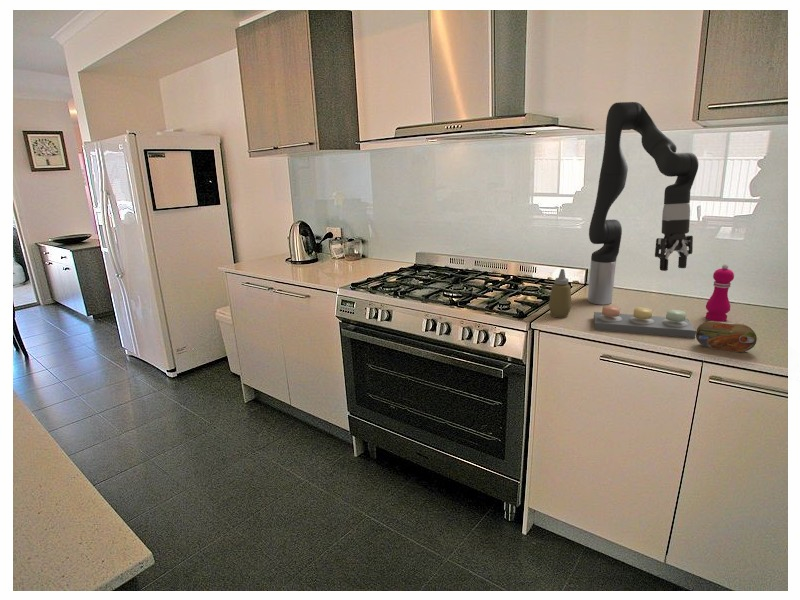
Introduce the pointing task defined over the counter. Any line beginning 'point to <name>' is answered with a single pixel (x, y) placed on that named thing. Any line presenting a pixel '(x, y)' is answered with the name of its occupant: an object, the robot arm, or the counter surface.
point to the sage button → (676, 315)
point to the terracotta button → (610, 311)
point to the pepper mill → (720, 295)
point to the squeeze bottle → (560, 297)
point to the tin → (726, 336)
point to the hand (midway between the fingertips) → (672, 269)
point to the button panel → (644, 325)
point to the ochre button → (642, 313)
